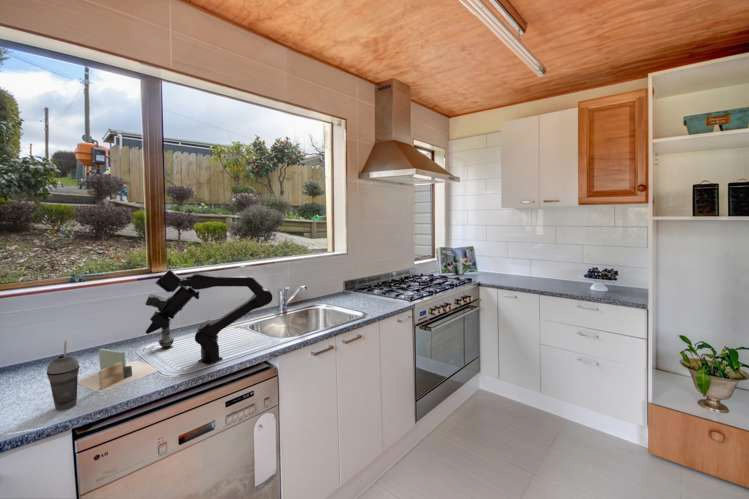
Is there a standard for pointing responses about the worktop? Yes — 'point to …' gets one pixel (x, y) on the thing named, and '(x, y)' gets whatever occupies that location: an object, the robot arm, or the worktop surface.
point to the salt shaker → (166, 339)
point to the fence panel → (111, 358)
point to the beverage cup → (63, 380)
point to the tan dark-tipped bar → (113, 374)
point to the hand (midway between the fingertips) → (146, 333)
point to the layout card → (137, 372)
